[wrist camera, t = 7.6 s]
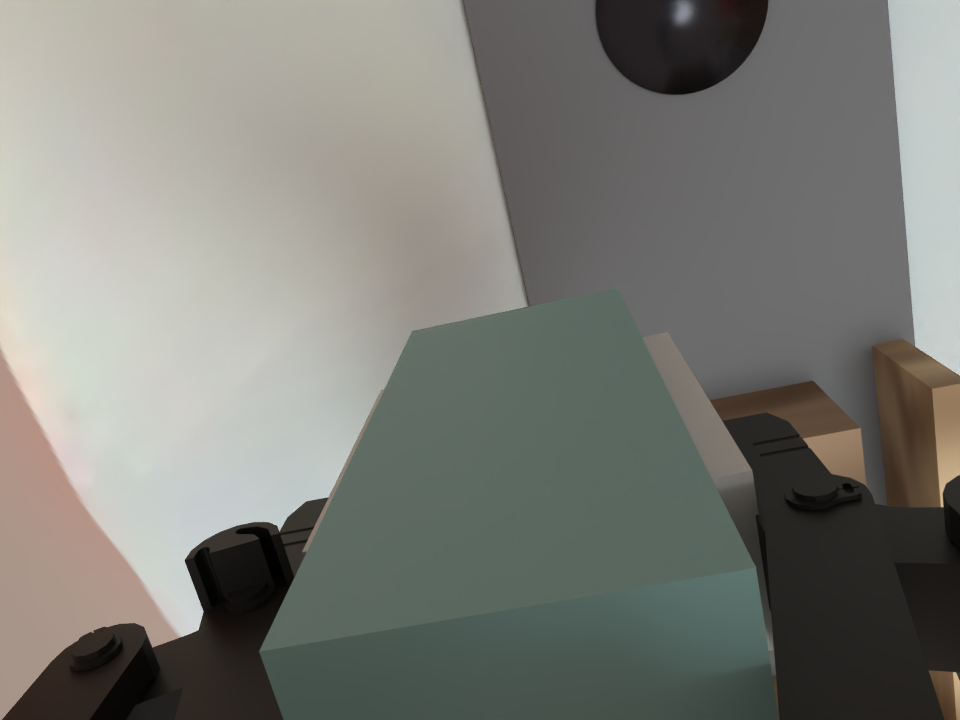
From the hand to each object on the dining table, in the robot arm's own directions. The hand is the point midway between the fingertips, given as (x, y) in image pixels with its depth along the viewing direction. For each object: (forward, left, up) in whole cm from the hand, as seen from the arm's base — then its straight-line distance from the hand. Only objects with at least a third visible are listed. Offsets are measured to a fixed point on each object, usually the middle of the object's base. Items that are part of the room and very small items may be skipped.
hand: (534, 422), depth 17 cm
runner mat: (+5, +7, -17) cm, 19 cm away
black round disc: (-8, +7, -17) cm, 20 cm away
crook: (+8, +4, -1) cm, 9 cm away
